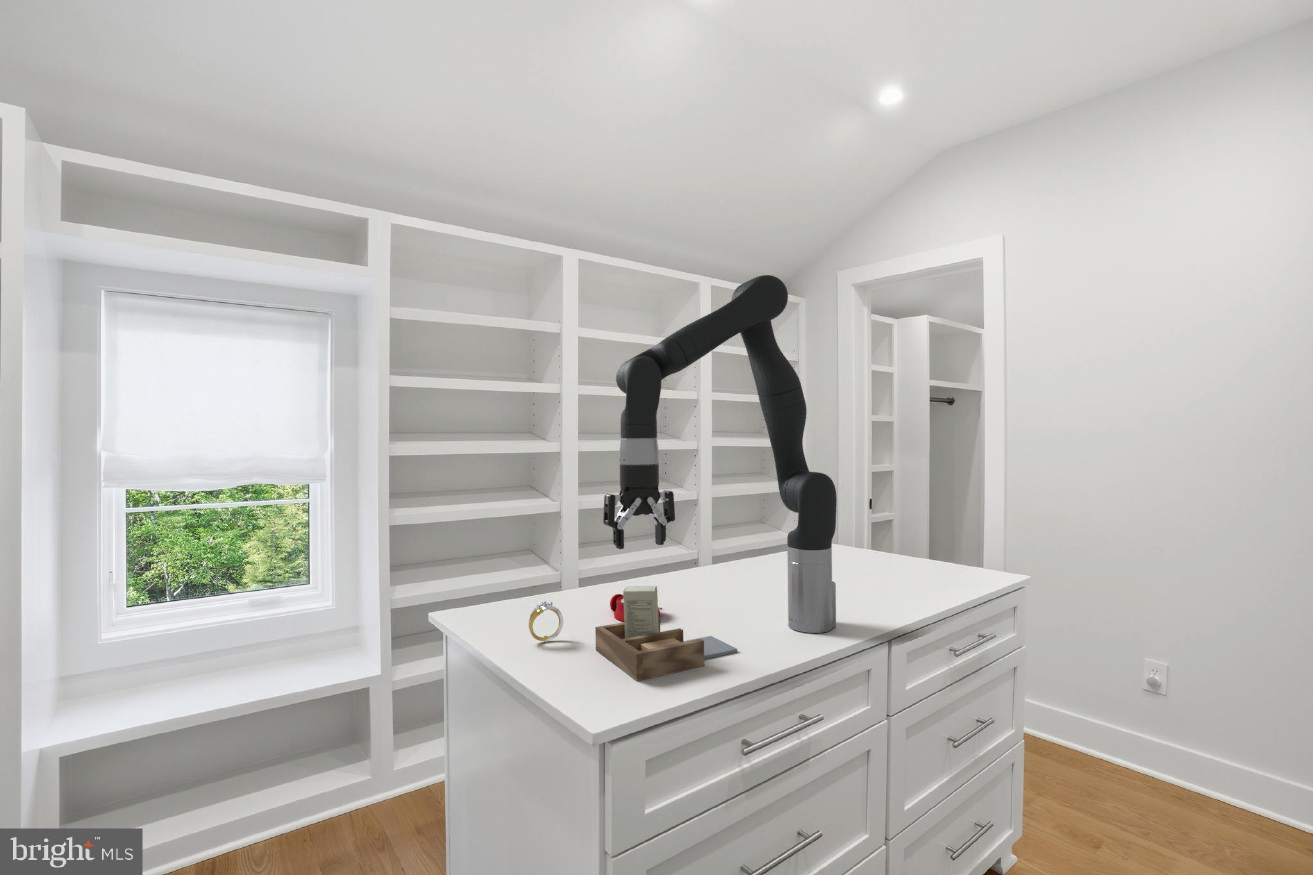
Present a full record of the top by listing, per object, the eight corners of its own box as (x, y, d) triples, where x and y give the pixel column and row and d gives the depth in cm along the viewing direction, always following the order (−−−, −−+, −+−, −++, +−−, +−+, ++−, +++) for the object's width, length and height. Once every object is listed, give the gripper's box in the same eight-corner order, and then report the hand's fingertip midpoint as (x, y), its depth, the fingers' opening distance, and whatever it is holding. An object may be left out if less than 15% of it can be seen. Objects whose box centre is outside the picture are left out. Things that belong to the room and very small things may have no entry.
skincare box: (659, 648, 120) (659, 585, 120) (657, 656, 115) (656, 590, 115) (627, 647, 120) (626, 584, 120) (623, 655, 116) (622, 590, 116)
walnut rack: (657, 638, 125) (657, 616, 125) (704, 665, 110) (704, 640, 110) (595, 650, 119) (595, 627, 119) (636, 681, 103) (636, 654, 103)
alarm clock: (624, 610, 133) (604, 580, 147) (622, 637, 134) (602, 604, 148) (669, 605, 137) (645, 575, 151) (667, 631, 138) (644, 599, 152)
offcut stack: (677, 657, 115) (677, 636, 115) (690, 665, 111) (690, 643, 111) (639, 665, 111) (638, 643, 111) (650, 674, 107) (650, 651, 107)
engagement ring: (530, 646, 121) (529, 605, 121) (527, 641, 124) (527, 601, 124) (564, 641, 124) (564, 602, 124) (561, 637, 127) (561, 598, 127)
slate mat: (710, 638, 125) (710, 635, 125) (737, 652, 117) (737, 648, 117) (672, 646, 120) (672, 643, 120) (697, 660, 113) (697, 657, 113)
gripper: (613, 463, 111) (614, 553, 111) (681, 461, 118) (682, 545, 118) (597, 462, 118) (598, 547, 118) (662, 460, 125) (663, 540, 125)
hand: (640, 546), depth 118 cm, fingers open, 8 cm apart
